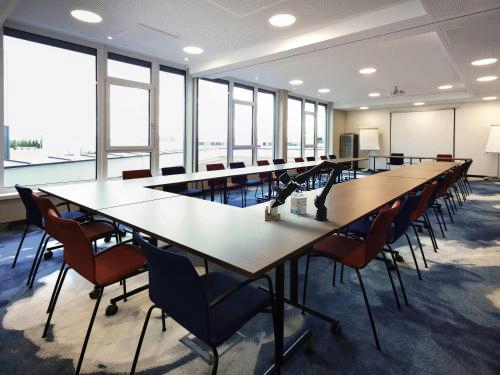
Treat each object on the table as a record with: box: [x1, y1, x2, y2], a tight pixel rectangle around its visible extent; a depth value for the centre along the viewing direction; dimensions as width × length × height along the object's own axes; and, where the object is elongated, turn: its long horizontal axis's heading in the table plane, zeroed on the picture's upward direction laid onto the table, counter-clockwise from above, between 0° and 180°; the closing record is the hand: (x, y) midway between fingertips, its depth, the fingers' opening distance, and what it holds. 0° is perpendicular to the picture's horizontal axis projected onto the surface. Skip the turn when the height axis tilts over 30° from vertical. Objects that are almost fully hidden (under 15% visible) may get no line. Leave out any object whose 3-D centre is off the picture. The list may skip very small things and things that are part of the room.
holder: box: [264, 205, 281, 222], centre depth 200 cm, size 10×13×7 cm
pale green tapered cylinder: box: [269, 199, 279, 216], centre depth 200 cm, size 5×5×12 cm
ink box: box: [289, 193, 308, 215], centre depth 216 cm, size 9×8×13 cm
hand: (271, 206), depth 200 cm, fingers open, 9 cm apart
